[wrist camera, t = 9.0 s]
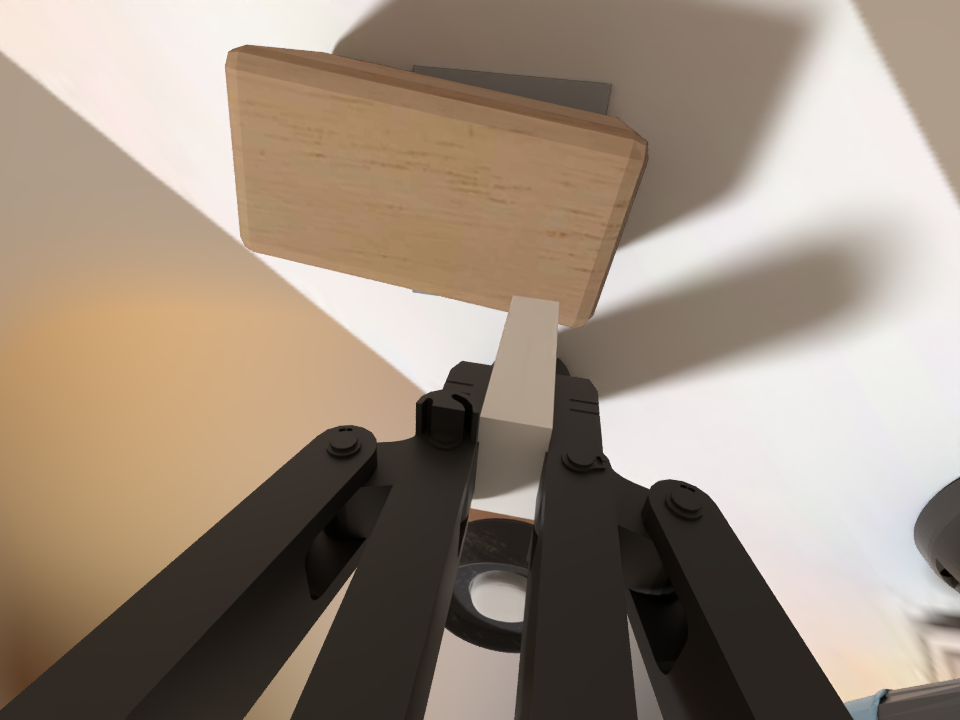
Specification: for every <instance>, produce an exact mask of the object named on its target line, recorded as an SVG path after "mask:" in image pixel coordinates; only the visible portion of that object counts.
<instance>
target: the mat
mask: <svg viewBox="0 0 960 720" xmlns="http://www.w3.org/2000/svg"><path fill="white" fill-rule="evenodd" d="M413 72H414V73H418V74H423V75H427V76H432V77H436V78H441V79H445V80H450V81H454V82H459V83H463V84H468V85H472V86H477V87H481V88H486V89H490V90H495V91H499V92H504V93H508V94H513V95H517V96H522V97H526V98H531V99H535V100H540V101H544V102H549V103H553V104H558V105H562V106H567V107H571V108H576V109H580V110H585V111H589V112H594V113H598V114H603V115H606V112H607V107H608V101H609V96H610V91H611V86H612V84H606V83H595V82H585V81H574V80H563V79H553V78H542V77H531V76H521V75H510V74H499V73H489V72H478V71H467V70H457V69H446V68H435V67H424V66H413ZM413 292H414V293H422V294H429V293H425V292H421V291H417V290H413ZM429 295H434V294H429ZM436 296H438V295H436Z"/></svg>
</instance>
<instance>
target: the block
mask: <svg viewBox="0 0 960 720" xmlns="http://www.w3.org/2000/svg"><path fill="white" fill-rule="evenodd" d="M225 72H226V83H227V94H228V105H229V116H230V127H231V138H232V149H233V160H234V171H235V182H236V193H237V204H238V215H239V226H240V237H241V239H242V241H243V243H244V245H245V247H247V248H248V249H250V250H252V251H253V252H257V253H261V254H265V255H270V256H274V257H278V258H282V259H286V260H291V261H295V262H299V263H303V264H308V265H312V266H316V267H320V268H324V269H329V270H333V271H337V272H341V273H345V274H350V275H354V276H358V277H362V278H366V279H371V280H375V281H379V282H383V283H387V284H392V285H396V286H400V287H404V288H408V289H413V290H417V291H421V292H425V293H429V294H434V295H438V296H442V297H446V298H450V299H455V300H459V301H463V302H467V303H471V304H476V305H480V306H484V307H488V308H492V309H497V310H501V311H505V312H509V308H510V305H511V301H512V297H513V295H514V296H521V297H528V298H535V299H542V300H550V301H557V302H559V314H558V324H560V325H564V326H568V327H583V326H584V325H585V324H586V322H587V321H588V320H589V319H590V318H591V317H592V316H593V315H594V312H595V309H596V306H597V304H598V301H599V298H600V295H601V292H602V290H603V287H604V284H605V281H606V278H607V275H608V273H609V270H610V267H611V264H612V261H613V258H614V256H615V253H616V250H617V247H618V244H619V241H620V239H621V236H622V233H623V230H624V227H625V224H626V222H627V219H628V216H629V213H630V210H631V207H632V205H633V202H634V199H635V196H636V193H637V190H638V188H639V185H640V182H641V179H642V176H643V173H644V171H645V168H646V165H647V162H648V142H647V141H646V140H645V139H644V138H642V137H641V136H640V135H639V134H637V133H636V132H635V131H634V130H632V129H631V128H630V127H629V126H627V125H626V124H625V123H623V122H622V121H621V120H620V119H618V118H616V117H612V116H607V115H603V114H598V113H594V112H589V111H585V110H580V109H576V108H571V107H567V106H562V105H558V104H553V103H549V102H544V101H540V100H535V99H531V98H526V97H522V96H517V95H513V94H508V93H504V92H499V91H495V90H490V89H486V88H481V87H477V86H472V85H468V84H463V83H459V82H454V81H450V80H445V79H441V78H436V77H432V76H427V75H423V74H418V73H414V72H409V71H405V70H400V69H396V68H391V67H387V66H382V65H378V64H373V63H369V62H364V61H360V60H355V59H351V58H346V57H342V56H337V55H333V54H328V53H324V52H315V51H305V50H295V49H285V48H275V47H265V46H255V45H244V46H241V47H238V48H234V49H232V50H231V51H229V52H228V55H227V60H226V64H225Z"/></svg>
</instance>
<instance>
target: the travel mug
mask: <svg viewBox="0 0 960 720" xmlns="http://www.w3.org/2000/svg"><path fill="white" fill-rule="evenodd" d="M494 363H495V362H494ZM494 363H493V364H492V366H494ZM555 374H557V375H564V376H570V375H569V372H568V370H567V368H566V367H565V365H564V364H563V363H562V362H561V361H560V360H559V359H558V358H557V357H556V371H555ZM534 518H535V516H534ZM533 526H534V520H531V519H526V518H521V517H515V516H510V515H505V514H499V513H494V512H489V511H483V510H478V509H473V508H471V506H470V510H469V518H468V527H467V532H466V536H465V541H464V545H463V549H462V554H461V558H460V562H459V567H458V571H457V575H456V580H455V584H454V589H453V593H452V597H451V602H450V606H449V610H448V615H447V619H446V623H445V628H446V629H447V630H449V631H450V632H451V633H453V634H454V635H456V636H457V637H459V638H461V639H463V640H465V641H467V642H469V643H471V644H474V645H476V646H479V647H483V648H486V649H489V650H494V651H499V652H506V653H520V652H521V641H522V630H523V619H524V608H525V597H526V586H527V575H528V564H529V562H528V561H526V560H527V555H528V550H529V545H530V540H531V535H532V531H533Z"/></svg>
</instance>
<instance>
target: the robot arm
mask: <svg viewBox="0 0 960 720" xmlns="http://www.w3.org/2000/svg"><path fill="white" fill-rule="evenodd" d="M558 314H559V302H557V301H550V300H542V299H535V298H528V297H521V296H514V295H513V297H512V301H511V305H510V308H509V312H508V316H507V319H506V323H505V327H504V330H503V334H502V338H501V341H500V345H499V349H498V352H497V356H496V360H495V363H494V366H491V365H485V364H479V363H472V362H466V361H461V362H460V363H459V364H457V365H456V366H455V367H453V368H452V369H451V370H450V373H449V375H448V377H447V380H446V382H445V384H444V387H443V389H442V390H438V391H433V392H430V393H428V394H426V395H424V396H422V397H421V398H420V399H419V400H418V401H417V402H416V434H415V436H414V437H412V438H409V439H406V440H403V441H395V442H381V443H377V441H376V438H375V437H374V435H373V434H372V432H370V431H368V430H367V429H365V428H362V427H358V426H353V425H347V426H338V427H335V428H331V429H328V430H326V431H325V432H323V433H321V434H320V435H318V436H317V437H316V438H315V439H314V440H312V441H311V442H310V443H309V444H308V445H307V446H305V447H304V448H303V449H302V450H301V451H300V452H299V453H297V454H296V455H295V456H294V457H293V458H292V459H290V461H288V462H287V463H286V464H285V465H283V466H282V467H281V468H280V469H279V470H278V471H277V472H275V473H274V474H273V475H272V476H271V477H270V478H269V479H267V480H266V481H265V482H264V483H263V484H261V485H260V486H259V487H258V488H257V489H256V490H255V491H253V492H252V493H251V494H250V495H249V496H248V497H246V498H245V499H244V500H243V501H242V502H241V503H240V504H239V505H237V506H236V507H235V508H234V509H233V510H232V511H230V512H229V513H228V514H227V515H226V516H225V517H223V518H222V519H221V520H220V521H219V522H218V523H216V524H215V525H214V526H213V527H212V528H211V529H209V530H208V531H207V532H206V533H205V534H204V535H203V536H201V537H200V538H199V539H198V540H197V541H196V542H195V543H193V544H192V545H191V546H190V547H189V548H188V549H186V550H185V551H184V552H183V553H182V554H181V555H179V557H177V558H176V559H175V560H174V561H172V562H171V563H170V564H169V565H168V566H167V567H166V568H164V569H163V570H162V571H161V572H160V573H159V574H157V575H156V576H155V577H154V578H153V579H152V580H151V581H149V582H148V583H147V584H146V585H145V586H144V587H143V588H141V589H140V590H139V591H138V592H137V593H135V594H134V595H133V596H132V597H131V598H130V599H129V600H127V601H126V602H125V603H124V604H123V605H122V606H121V607H119V608H118V609H117V610H116V611H115V612H114V613H113V614H111V615H110V616H109V617H108V618H107V619H105V620H104V621H103V622H102V623H101V624H100V625H99V626H98V627H96V628H95V629H94V630H93V631H92V632H90V634H88V635H87V636H86V637H85V638H83V639H82V640H81V641H80V642H79V643H78V644H77V645H75V646H74V647H73V648H72V649H71V650H70V651H69V652H67V653H66V654H65V655H64V656H63V657H62V658H60V659H59V660H58V661H57V662H56V663H55V664H54V665H52V666H51V667H50V668H49V669H48V670H47V671H45V672H44V673H43V674H42V675H41V676H40V677H38V678H37V679H36V680H35V681H34V682H33V683H31V684H30V685H29V686H28V687H27V688H26V689H25V690H24V691H22V692H21V693H20V694H19V695H18V696H17V697H15V698H14V699H13V700H12V701H11V702H9V703H8V704H7V705H6V706H5V707H4V708H3V709H2V710H0V720H243V718H244V717H245V716H246V715H247V713H248V712H249V711H250V709H251V708H252V706H253V705H254V704H255V703H256V701H257V700H258V698H259V697H260V696H261V694H262V693H263V692H264V690H265V689H266V688H267V686H268V685H269V684H270V682H271V681H272V680H273V678H274V677H275V676H276V674H277V673H278V672H279V670H280V669H281V668H282V666H283V665H284V663H285V662H286V661H287V660H288V658H289V657H290V656H291V654H292V653H293V652H294V650H295V649H296V648H297V646H298V645H299V644H300V642H301V641H302V640H303V638H304V637H305V636H306V634H307V633H308V631H309V630H310V629H311V628H312V626H313V625H314V624H315V622H316V621H317V620H318V618H319V617H320V616H321V614H322V613H323V612H324V610H325V609H326V608H327V606H328V605H329V604H330V602H331V601H332V600H333V598H334V597H335V596H336V594H337V593H338V592H339V590H340V589H341V587H342V586H343V585H344V583H345V582H346V581H347V580H348V578H349V577H350V576H351V574H352V573H353V572H354V570H355V569H356V568H357V569H356V571H355V573H354V576H353V578H352V580H351V582H350V585H349V587H348V589H347V591H346V594H345V596H344V598H343V601H342V603H341V605H340V608H339V610H338V612H337V614H336V616H335V619H334V621H333V624H332V626H331V628H330V630H329V633H328V635H327V637H326V639H325V641H324V644H323V646H322V648H321V651H320V653H319V655H318V657H317V660H316V662H315V664H314V667H313V669H312V671H311V673H310V676H309V678H308V680H307V683H306V685H305V687H304V690H303V692H302V694H301V696H300V699H299V701H298V703H297V705H296V708H295V710H294V712H293V714H292V717H291V719H290V720H423V719H424V715H425V711H426V706H427V702H428V698H429V693H430V689H431V685H432V680H433V676H434V671H435V667H436V662H437V658H438V654H439V649H440V645H441V641H442V637H443V632H444V628H445V623H446V619H447V615H448V610H449V606H450V602H451V597H452V593H453V589H454V584H455V580H456V575H457V571H458V567H459V562H460V558H461V554H462V549H463V545H464V541H465V536H466V532H467V527H468V518H469V510H470V506H471V508H473V509H478V510H483V511H489V512H494V513H499V514H505V515H510V516H515V517H521V518H526V519H531V520H534V526H533V531H532V535H531V540H530V545H529V550H528V555H527V560H526V561H528V562H529V564H528V575H527V586H526V597H525V608H524V619H523V630H522V641H521V652H520V663H519V674H518V685H517V696H516V708H515V717H514V720H638V718H637V709H636V699H635V690H634V680H633V670H632V660H631V651H630V642H629V632H628V622H627V615H628V618H629V621H630V624H631V627H632V629H633V632H634V635H635V638H636V641H637V644H638V647H639V650H640V653H641V655H642V658H643V661H644V664H645V667H646V670H647V673H648V676H649V679H650V681H651V684H652V687H653V690H654V693H655V696H656V699H657V702H658V705H659V708H660V710H661V713H662V716H663V719H664V720H960V678H958V679H953V680H948V681H943V682H937V683H931V684H926V685H920V686H914V687H909V688H903V689H897V690H892V689H882V690H880V691H878V692H877V693H876V694H875V695H872V696H868V697H865V698H861V699H857V700H853V701H848V702H845V703H843V702H842V700H841V699H840V697H839V696H838V694H837V692H836V691H835V689H834V688H833V686H832V685H831V683H830V682H829V680H828V678H827V677H826V675H825V674H824V672H823V671H822V669H821V667H820V666H819V664H818V663H817V661H816V660H815V658H814V656H813V655H812V653H811V652H810V650H809V649H808V647H807V646H806V644H805V642H804V641H803V639H802V638H801V636H800V635H799V633H798V631H797V630H796V628H795V627H794V625H793V624H792V622H791V620H790V619H789V617H788V616H787V614H786V613H785V611H784V610H783V608H782V606H781V605H780V603H779V602H778V600H777V599H776V597H775V595H774V594H773V592H772V591H771V589H770V588H769V586H768V585H767V583H766V581H765V580H764V578H763V577H762V575H761V574H760V572H759V570H758V569H757V567H756V566H755V564H754V563H753V561H752V559H751V558H750V556H749V555H748V553H747V552H746V550H745V549H744V547H743V545H742V544H741V542H740V541H739V539H738V538H737V536H736V534H735V533H734V531H733V530H732V528H731V527H730V525H729V524H728V522H727V520H726V519H725V517H724V516H723V514H722V513H721V511H720V509H719V508H718V506H717V505H716V504H715V502H714V501H713V500H712V499H711V498H710V497H709V496H708V495H707V494H706V493H704V492H703V491H702V490H700V489H699V488H697V487H696V486H693V485H691V484H688V483H686V482H683V481H678V480H671V479H668V480H662V481H658V482H657V483H655V484H654V485H652V486H651V488H650V489H647V488H645V487H643V486H640V485H638V484H635V483H633V482H631V481H629V480H627V479H625V478H623V477H622V476H620V475H619V474H617V473H616V472H615V471H614V470H613V469H612V467H611V465H610V462H609V459H608V458H607V457H606V456H605V455H604V454H603V447H602V436H601V424H600V416H599V406H598V404H599V402H598V391H597V390H596V388H595V387H594V386H593V384H592V383H591V382H590V380H589V379H583V378H577V377H570V376H564V375H557V374H555V371H556V352H557V333H558ZM534 516H535V518H534ZM914 540H915V544H916V546H917V549H918V550H919V552H920V553H921V555H922V556H923V557H924V559H925V560H926V561H927V563H928V564H929V565H930V566H931V568H932V569H933V570H934V572H935V573H936V574H937V575H938V576H939V577H940V578H941V579H942V580H943V581H944V582H946V583H947V584H948V585H949V586H951V587H952V588H954V589H955V590H956V591H957V592H959V593H960V479H958V480H957V481H955V482H953V483H952V484H950V485H949V486H947V487H946V488H944V489H943V490H942V491H940V492H939V493H938V494H937V495H936V496H935V497H934V498H933V499H931V500H930V502H929V503H928V504H927V505H926V506H925V507H924V509H923V510H922V512H921V513H920V515H919V517H918V519H917V521H916V524H915V528H914Z"/></svg>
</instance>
